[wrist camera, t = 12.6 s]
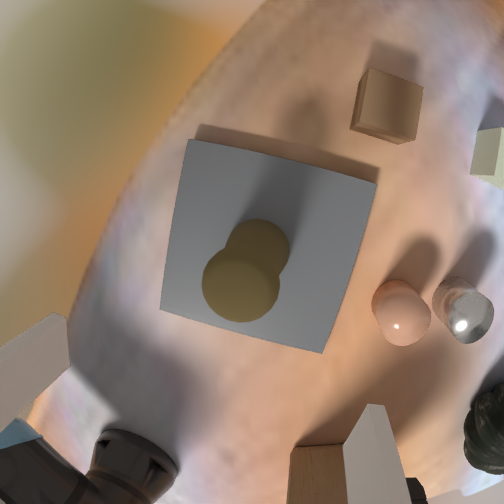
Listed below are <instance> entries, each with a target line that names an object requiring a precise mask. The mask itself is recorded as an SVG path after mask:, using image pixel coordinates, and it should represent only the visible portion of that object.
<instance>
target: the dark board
mask: <svg viewBox="0 0 504 504" xmlns="http://www.w3.org/2000/svg"><path fill="white" fill-rule="evenodd" d="M376 187H377V184H374V183H371V182H368V181H365V180H362V179H358V178H355V177H352V176H348V175H345V174H341V173H338V172H334V171H331V170H327V169H324V168H320V167H316V166H312V165H309V164H305V163H301V162H297V161H293V160H289V159H285V158H281V157H276V156H272V155H268V154H263V153H259V152H254V151H250V150H245V149H240V148H236V147H231V146H226V145H220V144H215V143H210V142H204V141H199V140H193V139H188V143H187V148H186V152H185V157H184V162H183V167H182V171H181V176H180V181H179V187H178V192H177V197H176V203H175V208H174V214H173V219H172V225H171V231H170V237H169V244H168V250H167V257H166V264H165V271H164V278H163V286H162V294H161V302H160V310H163V311H166V312H169V313H173V314H176V315H179V316H182V317H185V318H188V319H192V320H195V321H198V322H202V323H205V324H208V325H212V326H215V327H219V328H222V329H226V330H229V331H233V332H236V333H240V334H244V335H247V336H251V337H255V338H259V339H262V340H266V341H270V342H274V343H278V344H282V345H286V346H291V347H295V348H299V349H303V350H308V351H312V352H316V353H321V354H322V353H323V350H324V348H325V345H326V343H327V340H328V337H329V335H330V332H331V330H332V327H333V324H334V321H335V319H336V316H337V313H338V311H339V308H340V305H341V302H342V299H343V296H344V294H345V291H346V288H347V285H348V282H349V279H350V276H351V273H352V270H353V267H354V263H355V260H356V257H357V254H358V251H359V247H360V244H361V241H362V238H363V234H364V231H365V227H366V224H367V220H368V217H369V213H370V209H371V206H372V202H373V198H374V195H375V191H376ZM252 219H262V220H267V221H270V222H271V223H273V224H275V225H277V226H278V227H279V228H280V229H281V230H282V231H283V232H284V234H285V236H286V238H287V240H288V242H289V250H290V253H289V258H288V262H287V264H286V266H285V267H284V269H283V271H282V272H281V274H280V275H279V278H280V290H279V294H278V299H277V301H276V302H275V304H274V305H273V307H272V309H271V310H270V311H269V312H267V313H266V314H265V315H264V316H262V317H261V318H259V319H257V320H254V321H251V322H242V323H238V322H233V321H229V320H226V319H224V318H223V317H221V316H219V315H217V314H216V313H215V312H214V311H213V310H212V309H211V308H210V307H209V306H208V304H207V302H206V300H205V298H204V296H203V291H202V286H201V284H202V276H203V271H204V269H205V267H206V265H207V263H208V261H209V260H210V259H211V258H212V257H213V256H214V255H215V254H216V253H217V252H218V251H220V250H222V249H224V248H225V245H226V242H227V240H228V238H229V236H230V234H231V232H232V231H233V230H234V229H235V228H236V227H237V226H238V225H239V224H241V223H243V222H245V221H247V220H252Z"/></svg>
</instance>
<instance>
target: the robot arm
mask: <svg viewBox="0 0 504 504" xmlns="http://www.w3.org/2000/svg"><path fill="white" fill-rule="evenodd" d="M69 367H70V359H69V349H68V339H67V326H66V317H63V316H61V315H59V314H57V313H55V312H53V313H52V314H50V315H48V316H47V317H46V318H44V319H42V320H41V321H40V322H38V323H36V324H35V325H33V326H32V327H30V328H29V329H27V330H26V331H24V332H23V333H21V334H20V335H18V336H17V337H15V338H14V339H12V340H11V341H9V342H8V343H6V344H5V345H3V346H2V347H0V504H154V503H155V502H156V501H157V500H158V499H159V498H160V497H161V496H162V495H163V494H164V493H166V492H167V491H168V490H169V489H170V488H171V487H172V485H173V484H174V481H175V479H176V476H177V468H176V466H175V464H174V462H173V461H172V460H171V458H170V457H169V456H168V455H167V454H166V453H165V452H163V451H162V450H161V449H160V448H158V447H157V446H156V445H154V444H153V443H151V442H149V441H148V440H146V439H144V438H142V437H140V436H137V435H135V434H132V433H130V432H126V431H122V430H115V429H112V430H106V431H104V432H103V433H102V434H101V435H100V437H99V438H98V439H97V441H96V443H95V446H94V451H93V455H92V460H91V465H90V469H89V471H88V472H87V474H86V475H83V474H82V473H81V472H80V471H79V470H78V469H76V468H75V467H74V466H73V465H71V464H70V463H69V462H68V461H67V460H66V459H65V458H63V457H62V456H61V455H60V454H59V453H58V452H57V451H56V450H55V449H54V448H53V447H52V446H51V445H50V444H49V443H48V442H46V441H45V440H44V439H43V436H42V435H41V434H39V433H37V432H36V431H35V430H34V429H33V428H32V427H31V426H30V425H29V424H28V423H27V422H26V421H25V420H23V419H21V418H17V416H18V415H19V414H20V413H21V412H22V411H23V410H24V409H25V408H26V407H27V406H28V405H29V404H30V403H32V402H33V401H34V400H35V399H36V398H37V397H38V396H39V395H40V394H41V393H42V392H43V391H44V390H45V389H46V388H47V387H48V386H49V385H51V384H52V383H53V382H54V381H55V380H56V379H57V378H58V377H59V376H60V375H61V374H62V373H63V372H64V371H66V370H67V369H68V368H69ZM343 455H344V465H345V475H346V485H347V496H348V504H428V502H427V501H426V499H427V498H426V495H425V491H424V488H423V486H422V485H421V484H420V482H419V481H418V480H417V478H405V475H404V471H403V467H402V464H401V460H400V456H399V453H398V449H397V446H396V442H395V439H394V435H393V432H392V429H391V425H390V422H389V419H388V416H387V412H386V409H385V406H384V405H377V404H369V403H368V404H367V406H366V408H365V409H364V411H363V413H362V415H361V416H360V418H359V420H358V422H357V423H356V425H355V427H354V428H353V430H352V432H351V433H350V435H349V437H348V438H347V440H346V441H345V443H344V445H343Z"/></svg>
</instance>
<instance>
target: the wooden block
mask: <svg viewBox="0 0 504 504" xmlns="http://www.w3.org/2000/svg"><path fill="white" fill-rule="evenodd" d="M343 445H344V444H337V445H325V446H311V447H297V448H293V451H292V452H291V454H290V467H289V479H288V491H287V502H286V504H348V496H347V485H346V475H345V465H344V455H343Z"/></svg>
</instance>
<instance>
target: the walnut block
mask: <svg viewBox="0 0 504 504" xmlns="http://www.w3.org/2000/svg"><path fill="white" fill-rule="evenodd" d="M422 95H423V87H422V86H419V85H417V84H414V83H412V82H409V81H406V80H404V79H401V78H398V77H395V76H393V75H390V74H387V73H384V72H381V71H378V70H375V69H372V68H369V69H368V71H367V72H366V73H365V75H364V76H363V78H362V79H361V81H360V82H359V85H358V90H357V96H356V101H355V106H354V111H353V116H352V121H351V126H350V130H353V131H357V132H360V133H363V134H367V135H370V136H373V137H376V138H379V139H383V140H386V141H389V142H392V143H394V144H397V145H398V144H402V143H405V142H409V141H413V140H415V138H416V133H417V127H418V121H419V115H420V109H421V102H422Z"/></svg>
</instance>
